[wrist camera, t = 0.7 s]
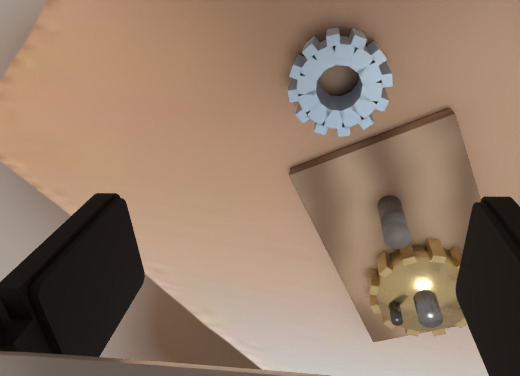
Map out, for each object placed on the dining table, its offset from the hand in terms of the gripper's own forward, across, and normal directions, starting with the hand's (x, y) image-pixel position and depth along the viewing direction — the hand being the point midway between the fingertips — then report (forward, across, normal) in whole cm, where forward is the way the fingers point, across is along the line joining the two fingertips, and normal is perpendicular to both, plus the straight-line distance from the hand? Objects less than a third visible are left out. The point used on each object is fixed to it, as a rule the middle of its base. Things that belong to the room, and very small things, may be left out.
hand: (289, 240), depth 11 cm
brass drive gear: (+22, -10, +20) cm, 31 cm away
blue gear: (+24, -2, 0) cm, 24 cm away
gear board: (+24, -9, +16) cm, 30 cm away
